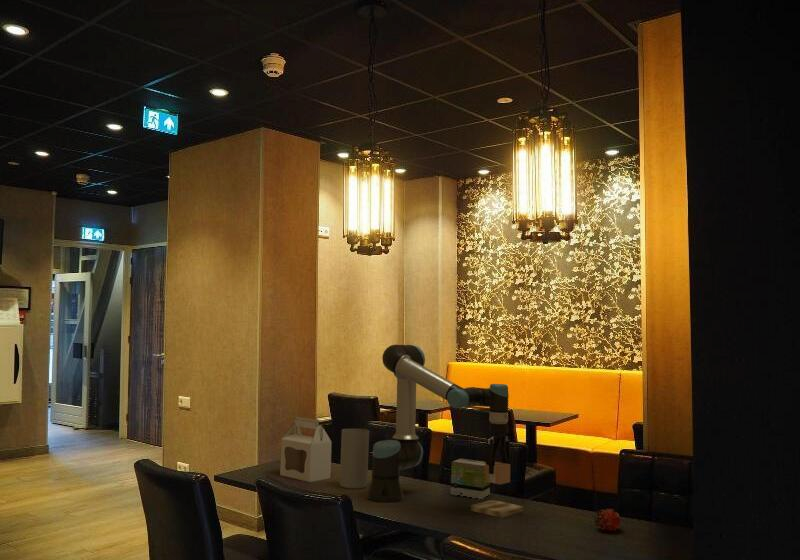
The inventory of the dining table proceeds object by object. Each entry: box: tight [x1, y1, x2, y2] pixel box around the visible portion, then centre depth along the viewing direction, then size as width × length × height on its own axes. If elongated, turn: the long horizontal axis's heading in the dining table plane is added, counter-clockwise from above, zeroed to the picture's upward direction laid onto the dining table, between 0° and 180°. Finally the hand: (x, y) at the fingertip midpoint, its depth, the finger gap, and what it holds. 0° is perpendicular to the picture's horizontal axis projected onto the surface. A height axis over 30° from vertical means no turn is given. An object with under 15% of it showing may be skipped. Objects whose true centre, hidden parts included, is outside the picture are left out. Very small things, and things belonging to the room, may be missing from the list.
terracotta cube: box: [486, 461, 511, 485], centre depth 269 cm, size 7×7×7 cm
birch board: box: [470, 499, 525, 519], centre depth 268 cm, size 15×15×2 cm
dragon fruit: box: [594, 508, 622, 533], centre depth 244 cm, size 8×8×12 cm
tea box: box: [450, 458, 491, 500], centre depth 295 cm, size 15×10×15 cm, turn 62°
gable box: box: [279, 416, 333, 483], centre depth 325 cm, size 22×13×28 cm, turn 49°
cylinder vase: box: [339, 428, 370, 490], centre depth 307 cm, size 12×12×25 cm
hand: (498, 480), depth 268 cm, fingers closed on terracotta cube, 7 cm apart
